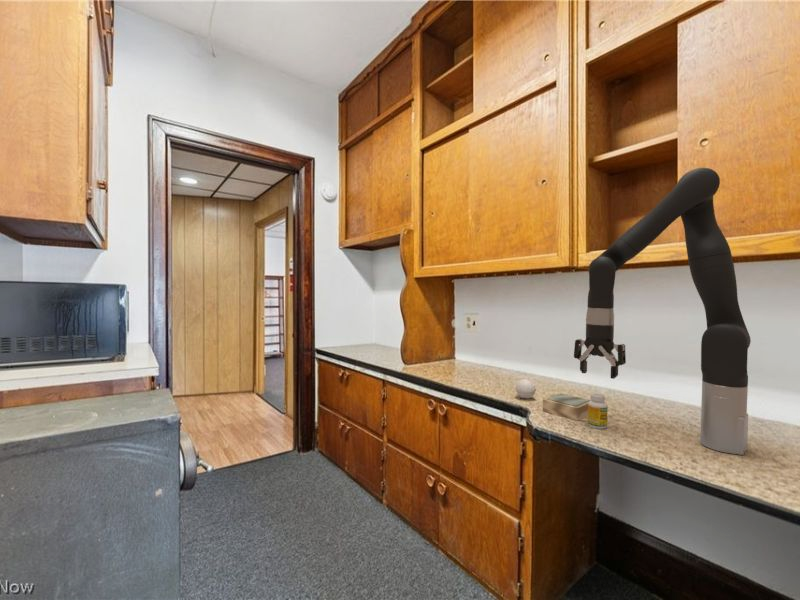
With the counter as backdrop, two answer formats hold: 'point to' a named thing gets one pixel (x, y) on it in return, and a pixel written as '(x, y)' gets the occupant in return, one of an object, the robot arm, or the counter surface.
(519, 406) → the counter surface
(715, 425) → the robot arm
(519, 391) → the white egg shape
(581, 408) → the oak riser
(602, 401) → the supplement bottle
